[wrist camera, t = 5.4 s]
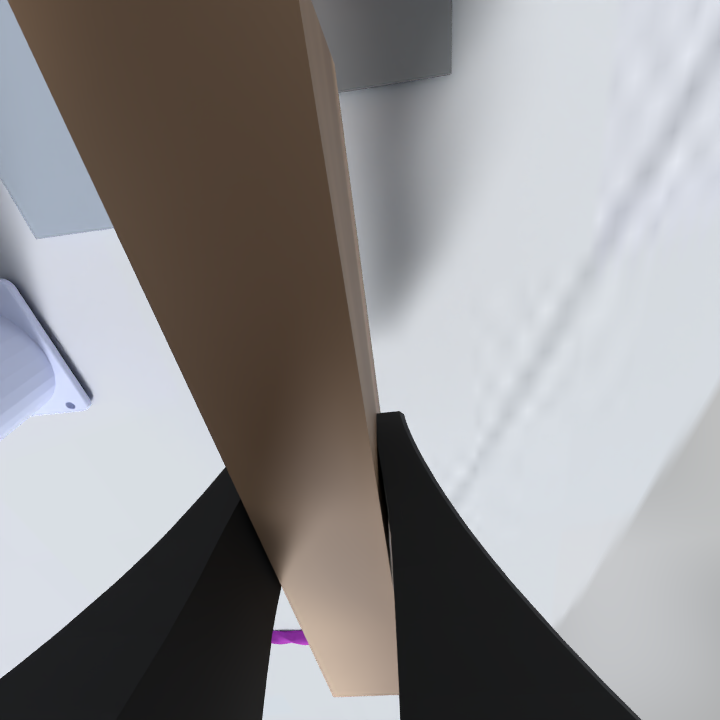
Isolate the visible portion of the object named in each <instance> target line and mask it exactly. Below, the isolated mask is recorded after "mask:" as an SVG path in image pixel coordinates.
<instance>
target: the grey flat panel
mask: <svg viewBox="0 0 720 720" xmlns="http://www.w3.org/2000/svg"><path fill="white" fill-rule="evenodd" d="M0 179H1V180H2V182H3V184H4V185H5V187H6V189H7V190H8V192H9V194H10V196H11V197H12V199H13V201H14V202H15V204H16V206H17V208H18V209H19V211H20V213H21V214H22V216H23V218H24V219H25V221H26V223H27V225H28V226H29V228H30V230H31V231H32V233H33V235H34V236H35V238H36V239H41V238H48V237H55V236H62V235H69V234H76V233H83V232H90V231H97V230H104V229H111V228H114V227H113V225H112V223H111V221H110V219H109V216H108V214H107V212H106V210H105V208H104V206H103V204H102V201H101V199H100V197H99V195H98V193H97V191H96V189H95V186H94V184H93V182H92V180H91V178H90V176H89V174H88V172H87V169H86V167H85V165H84V163H83V161H82V159H81V157H80V154H79V152H78V150H77V148H76V146H75V144H74V142H73V139H72V137H71V135H70V133H69V131H68V129H67V127H66V125H65V122H64V120H63V118H62V116H61V114H60V112H59V110H58V107H57V105H56V103H55V101H54V99H53V97H52V95H51V92H50V90H49V88H48V86H47V84H46V82H45V80H44V78H43V75H42V73H41V71H40V69H39V67H38V65H37V63H36V60H35V58H34V56H33V54H32V52H31V50H30V48H29V45H28V43H27V41H26V39H25V37H24V35H23V33H22V31H21V28H20V26H19V24H18V22H17V20H16V18H15V16H14V13H13V11H12V9H11V7H10V5H9V3H8V1H7V0H0Z"/></svg>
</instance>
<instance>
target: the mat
mask: <svg viewBox="0 0 720 720" xmlns="http://www.w3.org/2000/svg"><path fill="white" fill-rule="evenodd" d="M311 1H312V4H313V6H314V9H315V12H316V15H317V17H318V20H319V23H320V26H321V28H322V31H323V34H324V37H325V39H326V42H327V45H328V48H329V51H330V53H331V56H332V59H333V62H334V64H335V72H336V80H337V87H338V93H340V92H346V91H352V90H358V89H364V88H370V87H377V86H383V85H389V84H395V83H401V82H407V81H413V80H419V79H426V78H432V77H438V76H444V75H450V74H451V10H452V0H311Z"/></svg>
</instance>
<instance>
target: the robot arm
mask: <svg viewBox="0 0 720 720" xmlns="http://www.w3.org/2000/svg"><path fill="white" fill-rule="evenodd" d="M90 406H91V400H90V399H89V397H88V396H87V394H86V393H85V391H84V390H83V388H82V387H81V385H80V384H79V382H78V381H77V379H76V378H75V376H74V375H73V373H72V372H71V370H70V368H69V367H68V365H67V364H66V362H65V361H64V359H63V358H62V356H61V355H60V353H59V352H58V350H57V349H56V347H55V346H54V344H53V343H52V341H51V340H50V338H49V337H48V335H47V334H46V332H45V331H44V329H43V328H42V326H41V325H40V323H39V322H38V320H37V319H36V317H35V316H34V314H33V313H32V311H31V309H30V308H29V306H28V305H27V303H26V302H25V300H24V299H23V297H22V296H21V294H20V293H19V291H18V290H17V288H16V287H15V286H14V285H13V283H11V282H10V281H8V280H6V279H0V441H1V440H2V439H4V438H5V437H6V436H7V435H8V434H10V433H11V432H12V431H13V430H15V429H16V428H17V427H18V426H19V425H21V424H22V423H23V422H24V421H25V420H27V419H28V418H29V417H30V416H39V415H48V414H58V413H68V412H78V411H85V410H87V409H88V408H89V407H90ZM376 425H377V446H378V453H379V460H380V467H381V474H382V480H383V487H384V494H385V501H386V508H387V514H388V521H389V527H390V533H391V547H392V565H393V583H394V601H395V620H396V640H397V660H398V681H399V701H400V720H641V719H640V718H639V717H638V716H637V715H636V714H635V713H634V712H633V711H632V710H631V709H630V708H629V707H628V706H627V705H626V704H625V703H624V702H623V701H622V700H621V699H620V698H619V697H618V696H617V695H616V694H615V693H614V692H613V691H612V690H611V689H610V688H609V687H608V686H607V685H606V684H605V683H604V682H603V681H602V680H601V679H600V678H599V677H598V676H597V675H596V673H595V672H594V671H593V670H592V669H591V668H590V667H589V666H588V665H587V664H586V663H585V662H584V661H583V660H582V659H581V658H580V657H579V656H578V655H577V654H576V653H575V652H574V651H573V649H572V648H571V647H570V646H569V645H568V644H567V643H566V642H565V641H564V640H563V639H562V638H561V637H560V636H559V634H558V633H557V632H556V631H555V630H554V629H553V628H552V627H551V626H550V624H549V623H548V622H547V621H546V620H545V619H544V618H543V617H542V615H541V614H540V613H539V612H538V611H537V610H536V609H535V608H534V607H533V605H532V604H531V603H530V602H529V601H528V600H527V599H526V598H525V596H524V595H523V594H522V593H521V592H520V591H519V590H518V589H517V588H516V586H515V585H514V584H513V583H512V582H511V581H510V579H509V578H508V577H507V576H506V575H505V573H504V572H503V571H502V570H501V568H500V567H499V566H498V565H497V564H496V562H495V561H494V560H493V559H492V558H491V556H490V555H489V554H488V553H487V551H486V550H485V549H484V547H483V546H482V545H481V544H480V542H479V541H478V540H477V538H476V537H475V536H474V534H473V533H472V532H471V530H470V529H469V528H468V526H467V525H466V524H465V522H464V521H463V520H462V518H461V517H460V515H459V514H458V513H457V511H456V510H455V508H454V507H453V505H452V504H451V502H450V501H449V499H448V498H447V496H446V495H445V493H444V492H443V490H442V489H441V487H440V486H439V484H438V482H437V481H436V479H435V477H434V476H433V474H432V472H431V471H430V469H429V467H428V466H427V464H426V462H425V461H424V459H423V457H422V455H421V453H420V451H419V450H418V448H417V446H416V444H415V442H414V439H413V437H412V435H411V433H410V431H409V428H408V426H407V423H406V420H405V416H404V414H403V413H401V412H400V411H397V412H387V413H377V417H376ZM280 591H281V584H280V582H279V580H278V577H277V575H276V573H275V571H274V569H273V567H272V565H271V562H270V560H269V558H268V556H267V554H266V552H265V550H264V547H263V545H262V543H261V541H260V539H259V537H258V535H257V533H256V530H255V528H254V526H253V524H252V522H251V520H250V518H249V515H248V513H247V511H246V509H245V507H244V505H243V503H242V500H241V498H240V496H239V494H238V492H237V490H236V488H235V486H234V483H233V481H232V479H231V477H230V475H229V473H228V471H227V468H226V467H225V468H224V470H223V471H222V472H221V473H220V474H219V476H218V477H217V478H216V479H215V480H214V481H213V483H212V484H211V485H210V486H209V487H208V489H207V490H206V491H205V492H204V493H203V494H202V495H201V497H200V498H199V499H198V500H197V501H196V502H195V503H194V504H193V505H192V506H191V508H190V509H189V510H188V511H187V512H186V513H185V514H184V515H183V516H182V517H181V518H180V520H179V521H178V522H177V523H176V524H175V525H174V526H173V527H172V528H171V529H170V530H169V531H168V532H167V533H166V534H165V535H164V537H163V538H162V539H161V540H160V541H159V542H158V543H157V544H156V545H155V546H154V547H153V548H152V549H151V550H150V551H149V552H147V553H146V554H145V555H144V556H143V557H142V558H141V559H140V560H139V561H138V562H137V563H136V564H135V565H134V566H133V567H132V568H131V569H130V570H129V571H128V572H126V573H125V574H124V575H123V576H122V577H121V578H120V579H119V580H118V581H117V582H116V583H115V584H113V585H112V586H111V587H110V588H109V589H108V590H107V591H105V592H104V593H103V594H102V595H101V596H100V597H99V598H97V599H96V600H95V601H94V602H93V603H92V604H90V605H89V606H88V607H87V608H86V609H85V610H84V611H82V612H81V613H80V614H79V615H78V616H77V617H75V618H74V619H73V620H72V621H71V622H70V623H69V624H67V625H66V626H65V627H64V628H63V629H62V630H60V631H59V632H58V633H57V634H56V635H54V636H53V637H52V638H51V639H50V640H48V641H47V642H46V643H45V644H43V645H42V646H41V647H40V648H38V649H37V650H36V651H35V652H33V653H32V654H31V655H30V656H29V657H27V658H26V659H25V660H24V661H22V662H21V663H20V664H19V665H17V666H16V667H15V668H13V669H12V670H11V671H10V672H8V673H7V674H6V675H4V676H3V677H2V678H1V679H0V720H262V715H263V706H264V697H265V689H266V680H267V672H268V664H269V656H270V649H271V641H272V633H273V627H274V621H275V615H276V610H277V605H278V600H279V595H280Z"/></svg>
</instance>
